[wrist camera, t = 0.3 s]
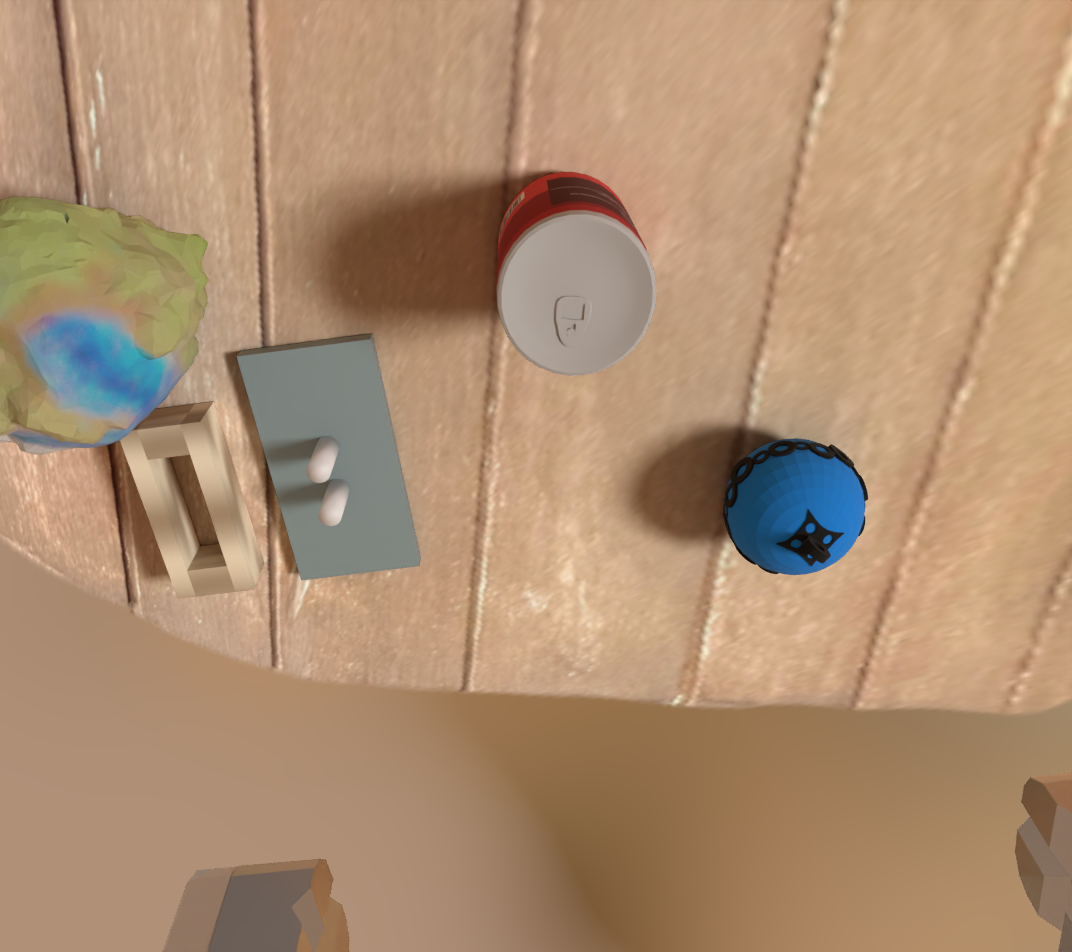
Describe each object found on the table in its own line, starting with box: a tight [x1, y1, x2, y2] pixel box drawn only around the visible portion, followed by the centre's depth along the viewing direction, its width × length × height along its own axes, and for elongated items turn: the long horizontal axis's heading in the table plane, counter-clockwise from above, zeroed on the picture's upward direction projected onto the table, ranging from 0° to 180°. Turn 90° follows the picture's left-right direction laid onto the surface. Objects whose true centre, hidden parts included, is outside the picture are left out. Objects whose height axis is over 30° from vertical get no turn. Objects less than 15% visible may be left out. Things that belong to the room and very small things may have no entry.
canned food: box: [496, 172, 656, 376], centre depth 50 cm, size 8×8×11 cm
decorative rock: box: [0, 197, 209, 454], centre depth 49 cm, size 14×16×15 cm
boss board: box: [237, 334, 421, 580], centre depth 59 cm, size 16×8×4 cm, turn 7°
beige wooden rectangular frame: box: [120, 402, 264, 599], centre depth 61 cm, size 12×5×3 cm, turn 7°
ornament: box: [723, 439, 868, 575], centre depth 58 cm, size 9×9×10 cm
